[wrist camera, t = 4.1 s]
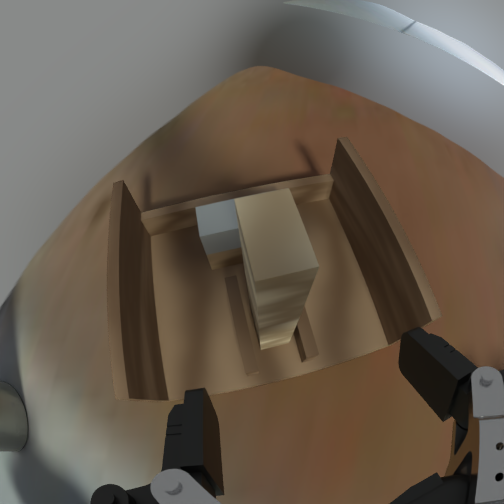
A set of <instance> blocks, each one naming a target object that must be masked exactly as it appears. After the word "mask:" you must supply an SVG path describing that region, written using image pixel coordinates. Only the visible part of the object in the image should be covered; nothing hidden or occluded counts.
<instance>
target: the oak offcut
mask: <svg viewBox="0 0 504 504" xmlns="http://www.w3.org/2000/svg"><path fill="white" fill-rule="evenodd" d="M207 258H208V260H209V263H210V266H211V268H212V270H214V269H218V268H223V267H227V266H232V265H236V264H241V263H244V262H243V255H242V249H241V247H240V248H236V249H231V250H227V251H222V252H218V253H213V254H209V255H207Z"/></svg>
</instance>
